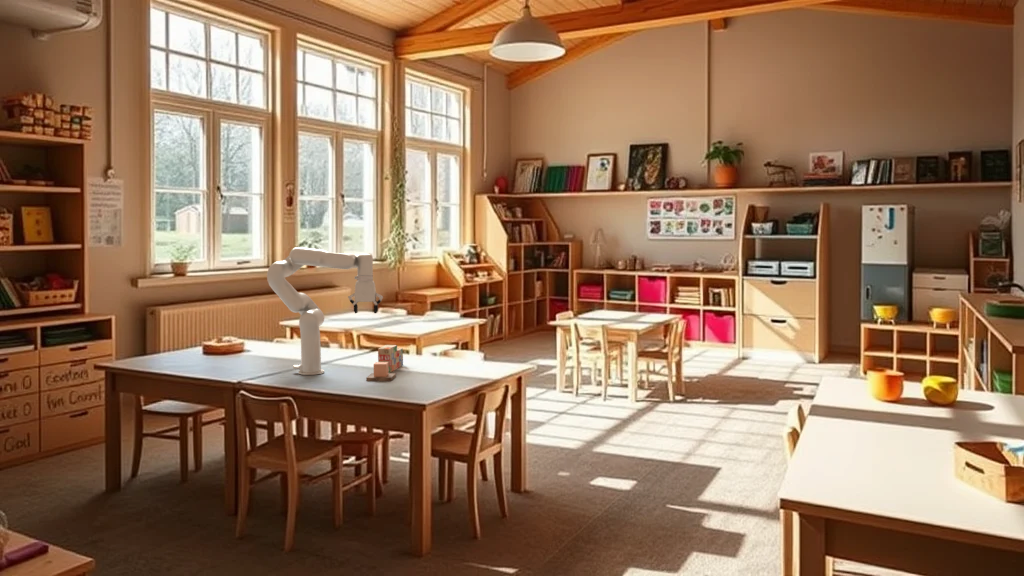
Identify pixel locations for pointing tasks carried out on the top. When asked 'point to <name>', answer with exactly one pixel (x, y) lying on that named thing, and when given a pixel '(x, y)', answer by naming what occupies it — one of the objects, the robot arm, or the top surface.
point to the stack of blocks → (391, 356)
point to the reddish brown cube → (380, 369)
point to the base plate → (387, 378)
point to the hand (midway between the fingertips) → (365, 313)
